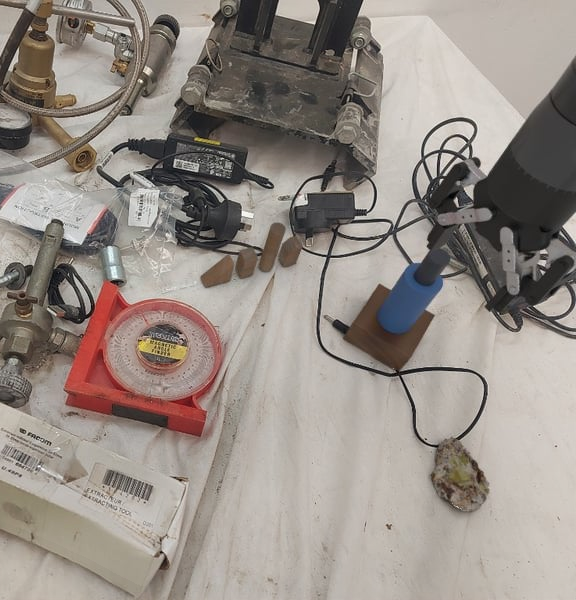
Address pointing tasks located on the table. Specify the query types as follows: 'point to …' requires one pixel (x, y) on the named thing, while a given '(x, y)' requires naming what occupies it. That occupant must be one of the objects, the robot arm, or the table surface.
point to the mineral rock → (459, 476)
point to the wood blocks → (253, 258)
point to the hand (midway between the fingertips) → (462, 276)
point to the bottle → (413, 292)
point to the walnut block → (385, 333)
